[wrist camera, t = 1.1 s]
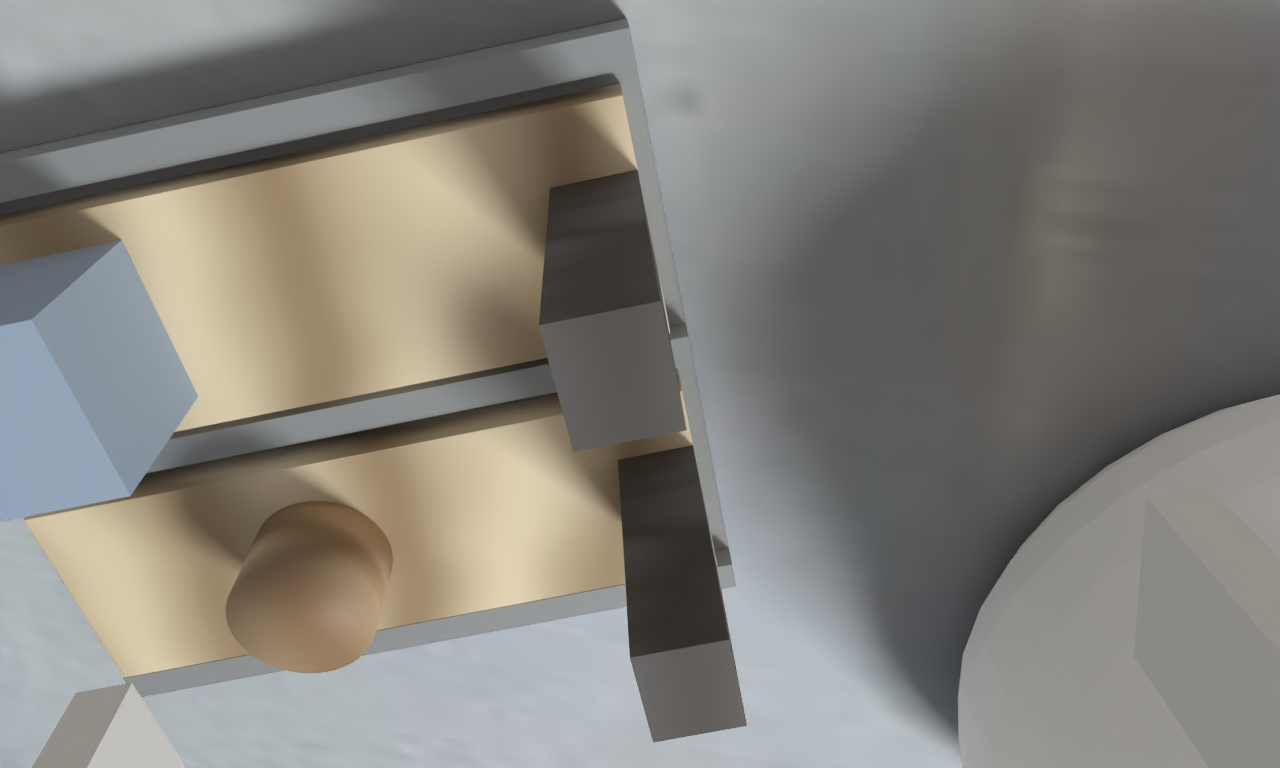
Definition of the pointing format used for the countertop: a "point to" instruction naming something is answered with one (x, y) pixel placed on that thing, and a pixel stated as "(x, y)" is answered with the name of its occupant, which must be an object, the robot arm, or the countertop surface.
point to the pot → (1102, 607)
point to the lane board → (342, 118)
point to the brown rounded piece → (311, 588)
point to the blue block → (82, 381)
